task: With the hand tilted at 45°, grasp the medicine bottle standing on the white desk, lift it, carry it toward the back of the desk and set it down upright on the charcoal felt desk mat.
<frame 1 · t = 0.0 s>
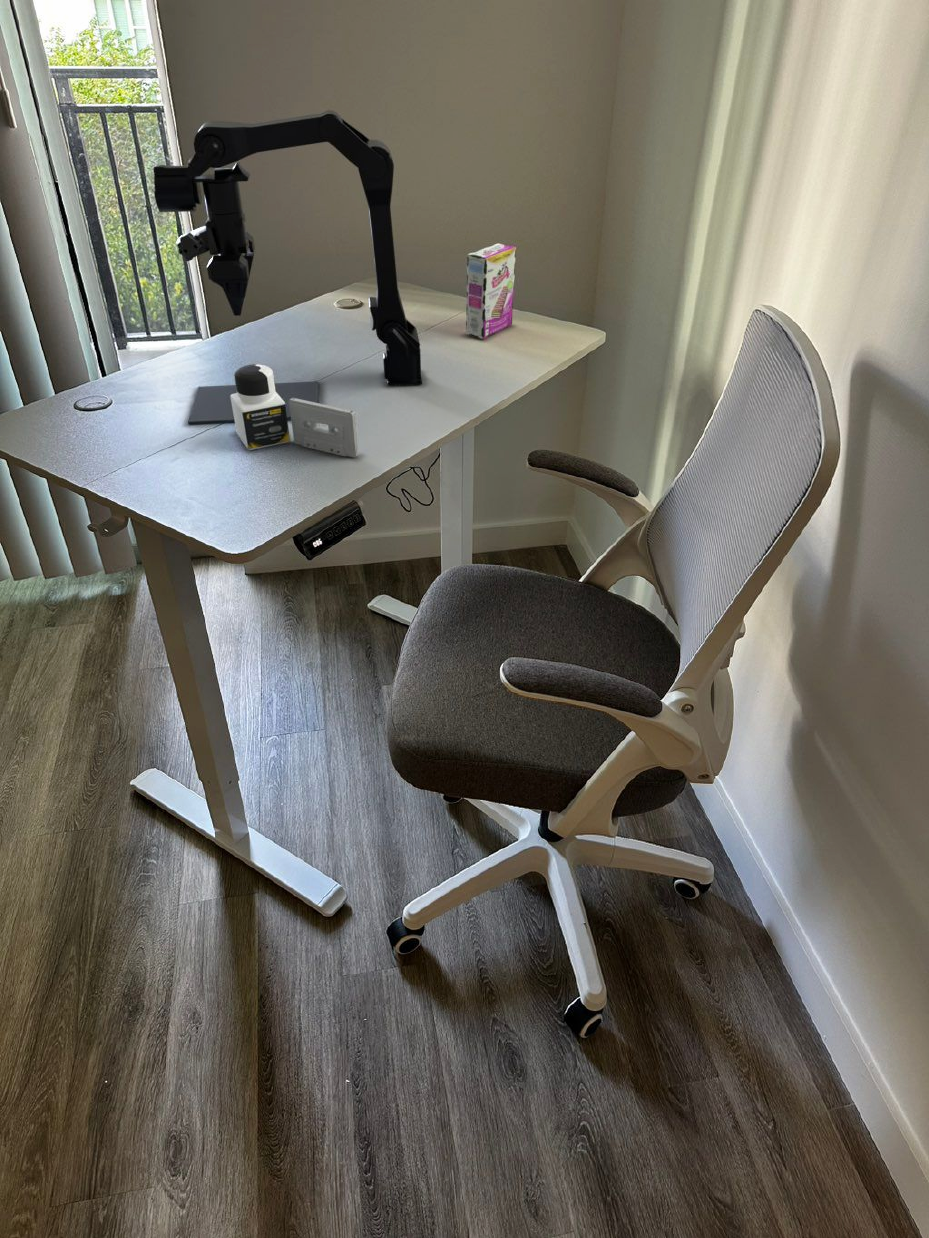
hand: (239, 306, 150), 15 cm above the table, tool pointing down, fingers open, 9 cm apart
medicine bottle: (263, 439, 143), on the table
cassette: (326, 450, 140), on the table
desk mat: (256, 403, 153), on the table
candy bar box: (489, 331, 183), on the table
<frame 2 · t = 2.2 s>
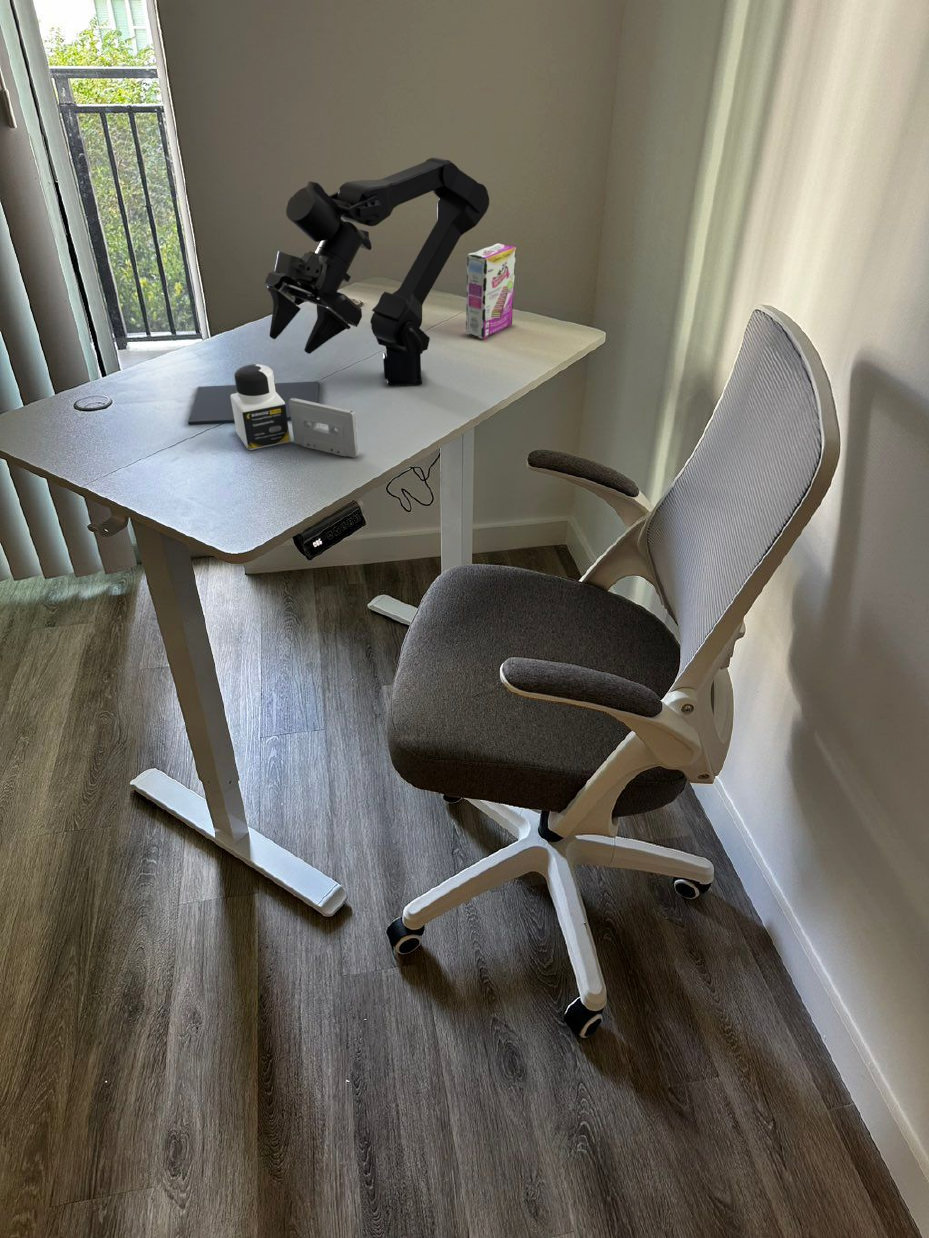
hand: (289, 345, 139), 13 cm above the table, tool tilted 45°, fingers open, 9 cm apart
nothing on the table moved.
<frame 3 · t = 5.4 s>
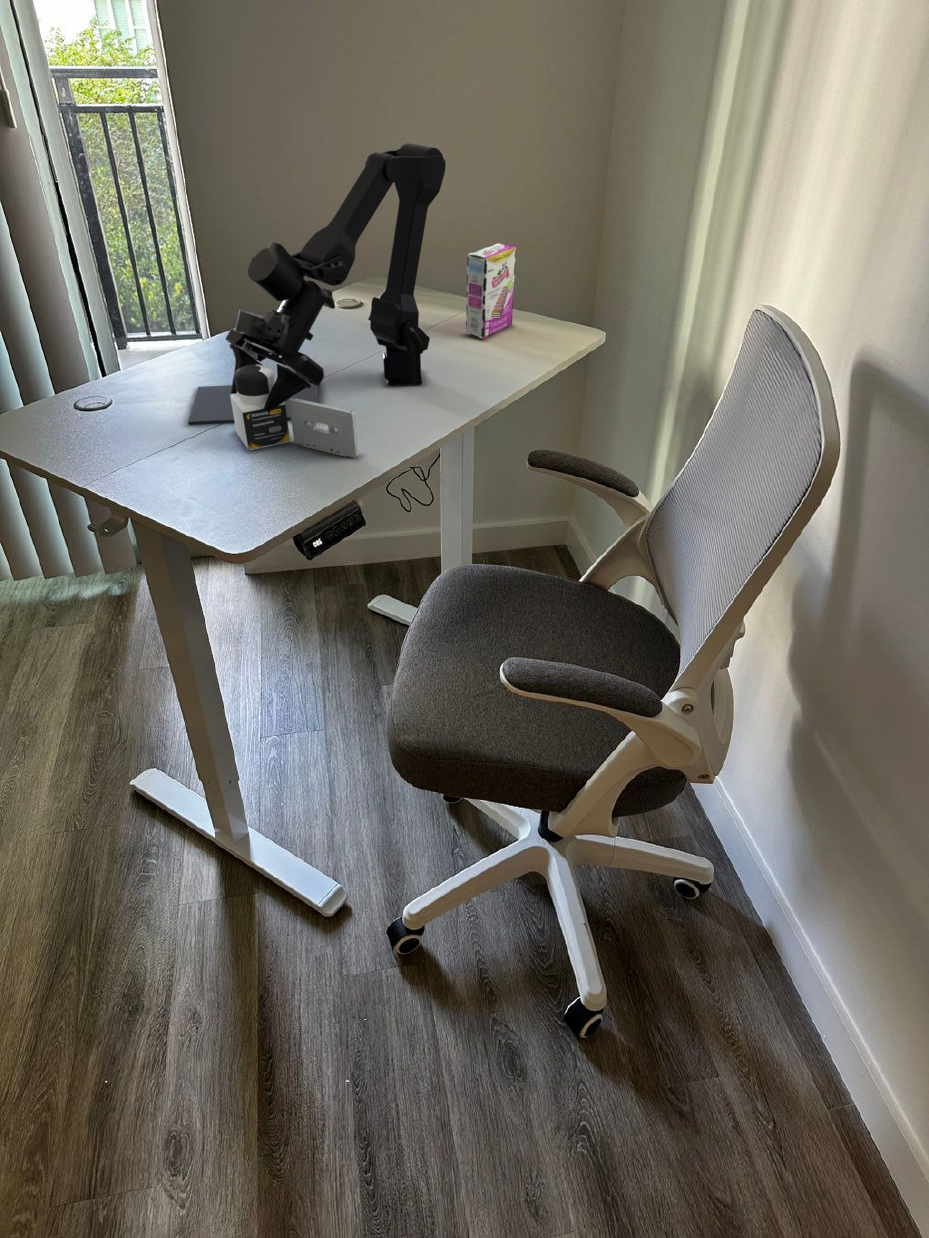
hand: (249, 402, 138), 7 cm above the table, tool tilted 45°, fingers closed on medicine bottle, 8 cm apart
medicine bottle: (263, 439, 143), on the table, touching gripper
everything else where it was.
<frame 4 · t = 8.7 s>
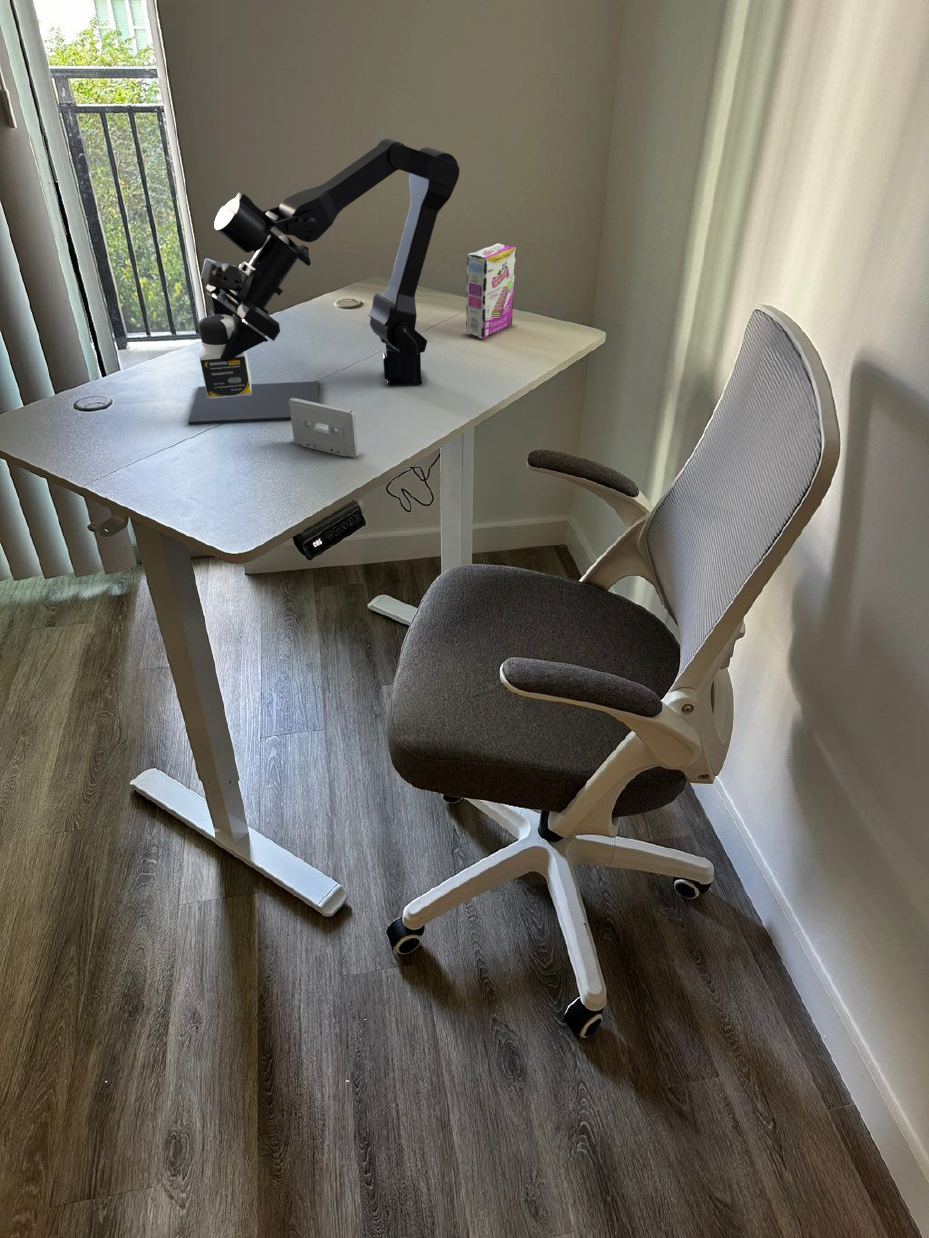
hand: (213, 351, 140), 12 cm above the table, tool tilted 45°, fingers closed on medicine bottle, 8 cm apart
medicine bottle: (230, 390, 145), point 5 cm above the table, touching gripper
everything else where it was.
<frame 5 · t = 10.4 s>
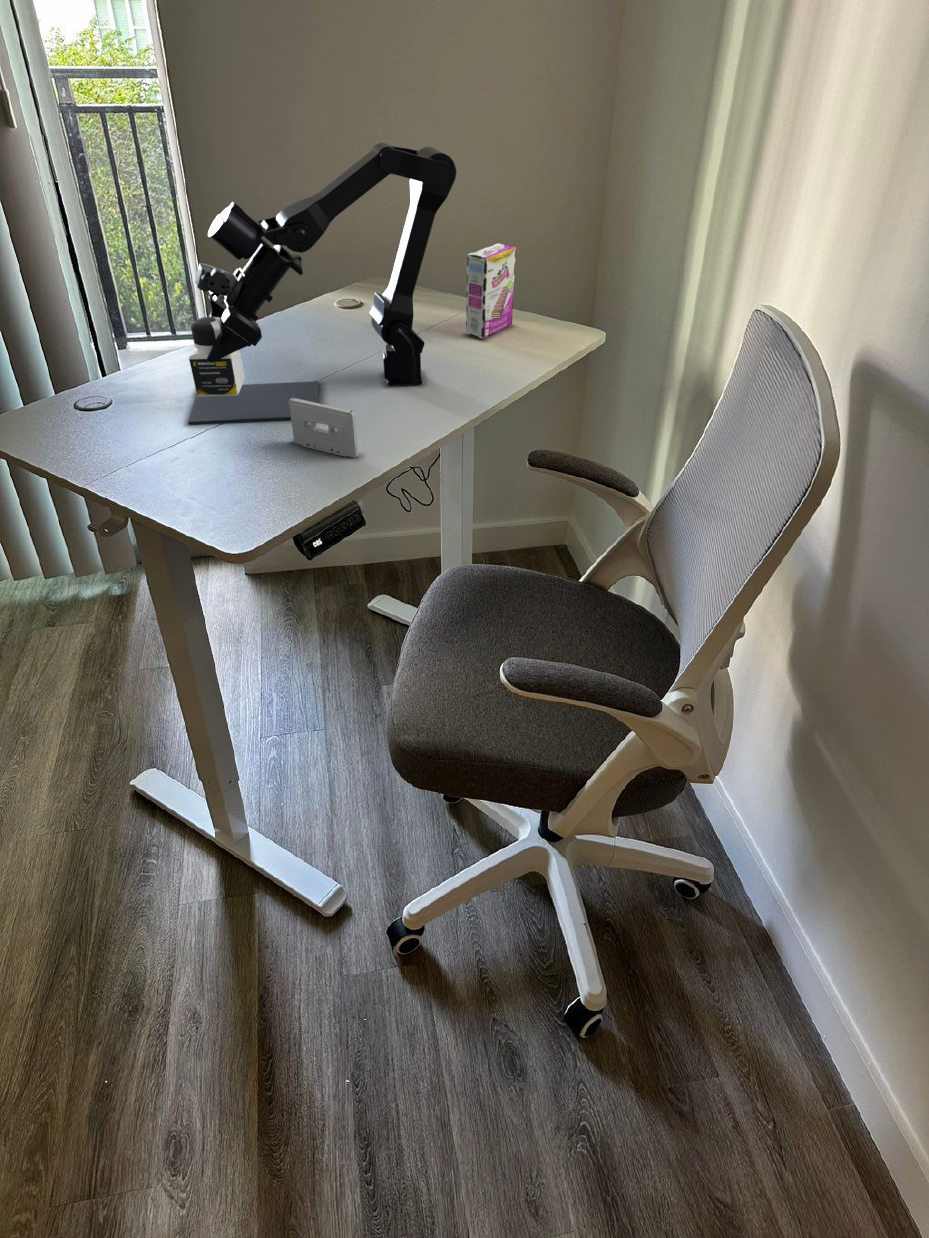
hand: (205, 351, 146), 10 cm above the table, tool tilted 45°, fingers closed on medicine bottle, 8 cm apart
medicine bottle: (221, 389, 151), point 3 cm above the table, touching gripper
everything else where it was.
when the fingers open (7 cm above the table, at t = 11.9 s): medicine bottle stays where it is, resting on desk mat.
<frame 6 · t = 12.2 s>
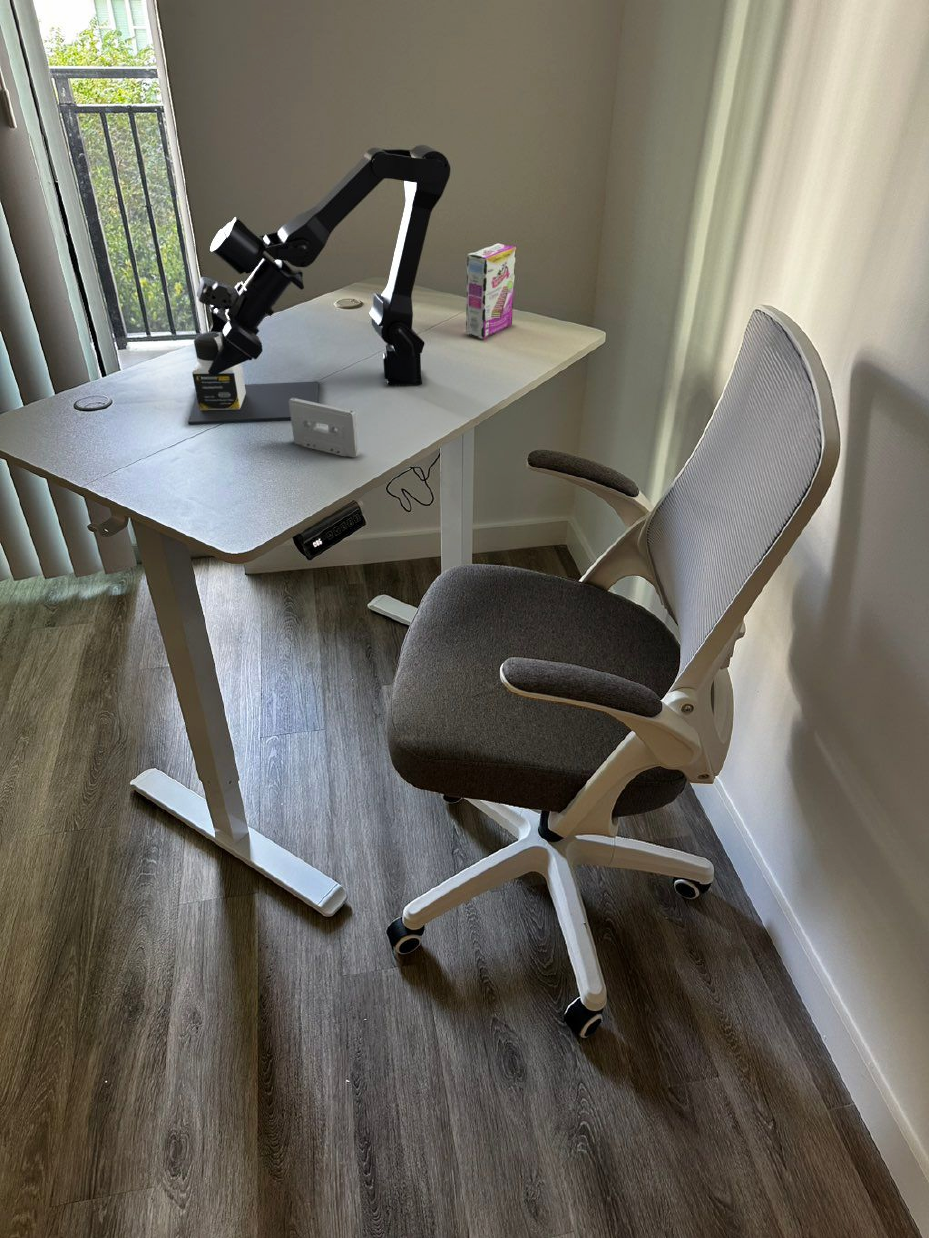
hand: (206, 364, 148), 8 cm above the table, tool tilted 45°, fingers open, 9 cm apart
medicine bottle: (223, 403, 152), resting on desk mat
everything else where it was.
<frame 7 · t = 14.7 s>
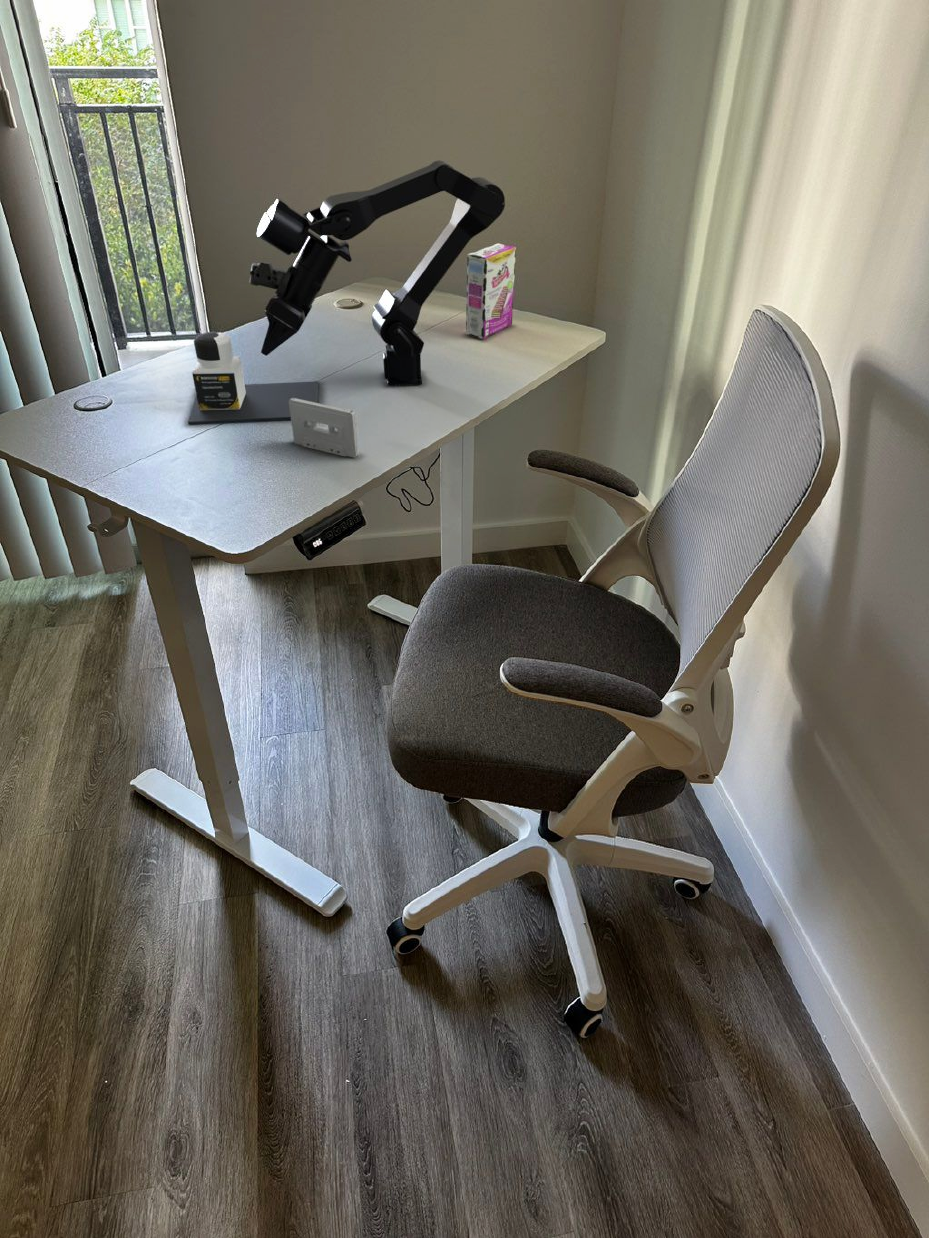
hand: (266, 349, 150), 9 cm above the table, tool tilted 35°, fingers open, 9 cm apart
nothing on the table moved.
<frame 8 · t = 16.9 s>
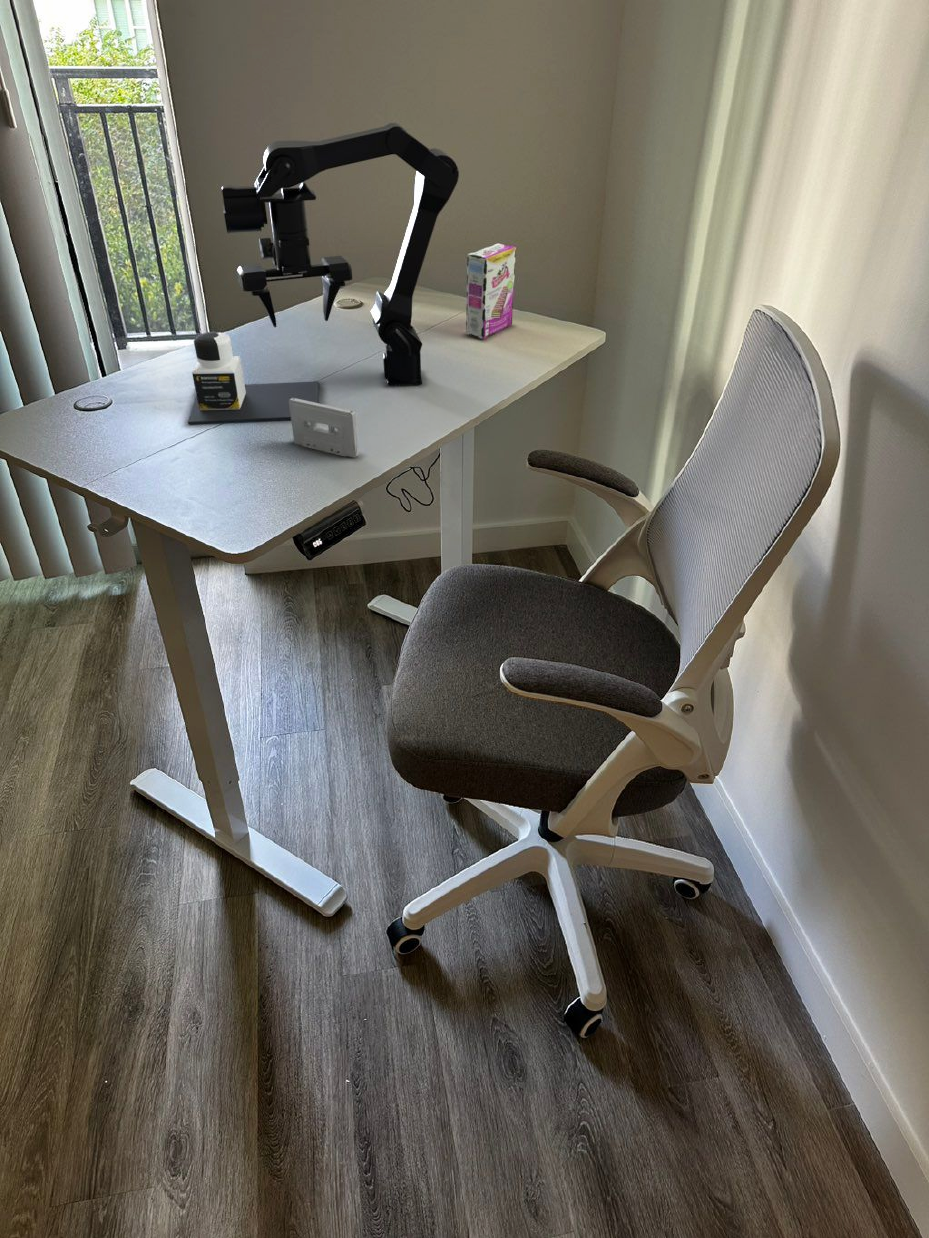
hand: (300, 323, 151), 12 cm above the table, tool pointing down, fingers open, 9 cm apart
nothing on the table moved.
at the end: medicine bottle inside the target area on the desk mat (5.8 cm from its centre), point 0.4 cm above the desk mat's base; medicine bottle tilted 0°; the gripper is holding nothing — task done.
